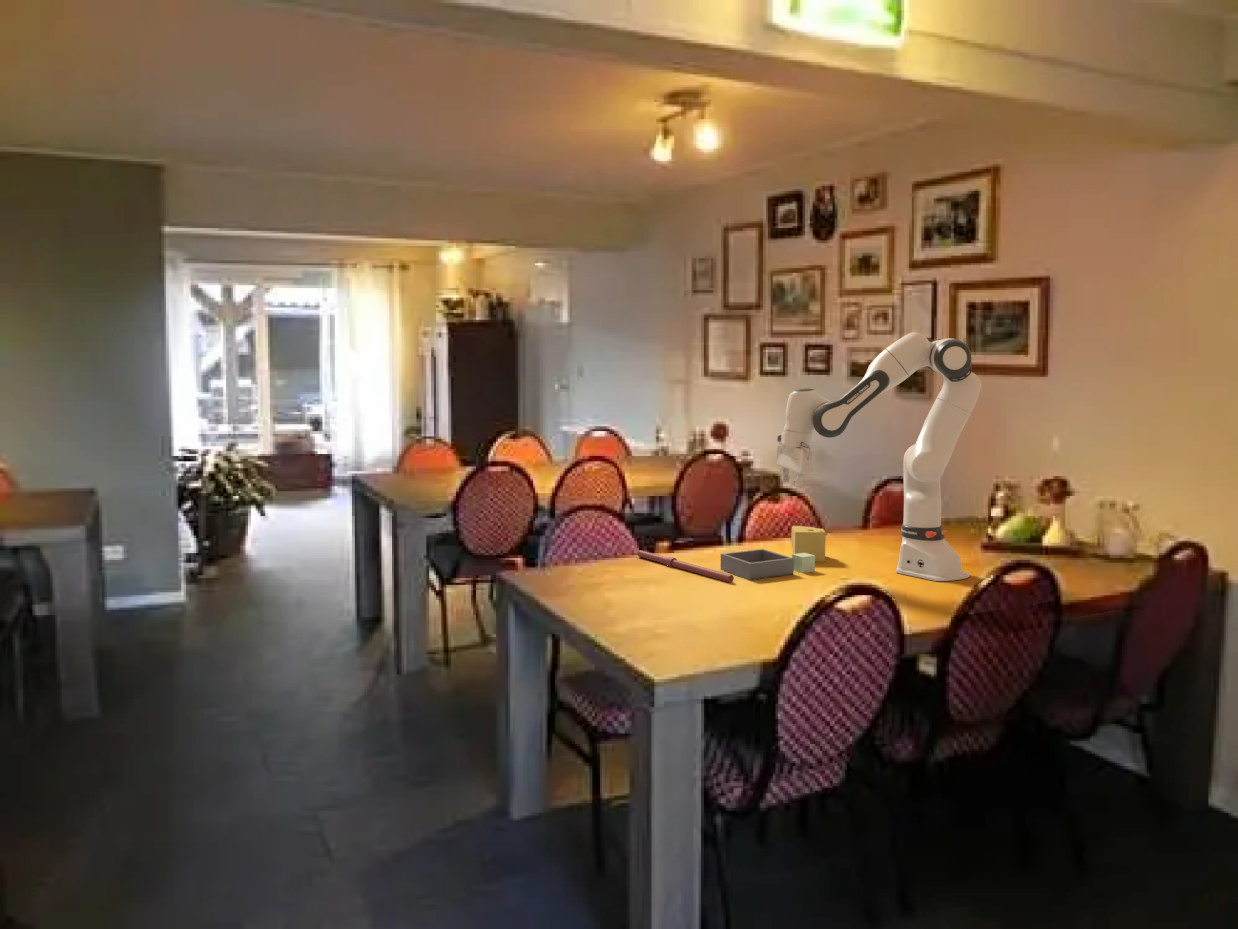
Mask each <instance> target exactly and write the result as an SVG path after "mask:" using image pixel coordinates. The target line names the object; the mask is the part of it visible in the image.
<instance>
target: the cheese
mask: <svg viewBox="0 0 1238 929" xmlns="http://www.w3.org/2000/svg"><path fill="white" fill-rule="evenodd" d="M790 538H791V548H792V549H791V550H792V554H798V553H808V554H811V555H815V563H816V562H817V563H818V562H819V563H821V562H823V563H824V562H825V561H826V531H825V529H824V528H817V527H813V526H805V525H804V526H802V525H793V526H792V527H791V535H790Z"/></svg>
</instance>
